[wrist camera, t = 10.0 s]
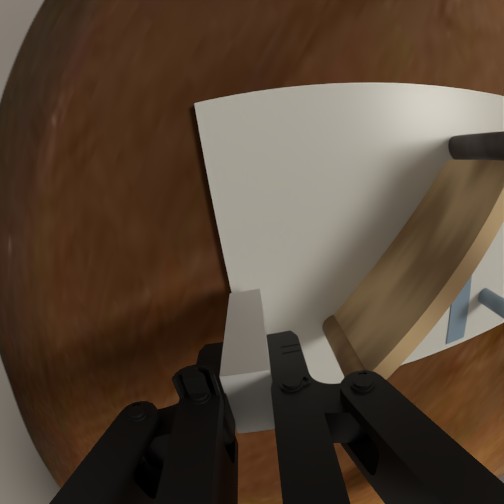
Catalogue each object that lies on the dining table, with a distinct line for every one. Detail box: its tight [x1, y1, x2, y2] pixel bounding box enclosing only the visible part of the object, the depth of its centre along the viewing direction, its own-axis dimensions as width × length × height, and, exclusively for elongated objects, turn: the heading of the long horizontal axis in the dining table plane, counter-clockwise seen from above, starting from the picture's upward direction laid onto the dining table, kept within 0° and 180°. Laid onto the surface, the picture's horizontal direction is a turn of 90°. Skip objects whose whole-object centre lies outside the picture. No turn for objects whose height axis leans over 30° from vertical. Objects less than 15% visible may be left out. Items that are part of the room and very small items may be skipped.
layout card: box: [194, 83, 504, 384], centre depth 14 cm, size 18×25×3 cm
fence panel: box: [322, 160, 504, 380], centre depth 12 cm, size 12×1×6 cm, turn 143°
